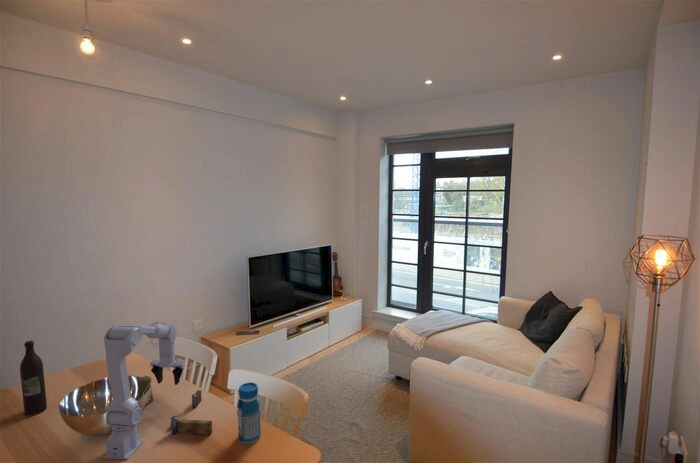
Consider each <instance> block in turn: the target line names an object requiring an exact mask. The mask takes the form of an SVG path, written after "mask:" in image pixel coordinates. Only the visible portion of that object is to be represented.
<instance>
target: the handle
mask: <svg viewBox="0 0 700 463" xmlns="http://www.w3.org/2000/svg"><path fill="white" fill-rule="evenodd" d="M212 433H213V421H212V420H201V419H200V420H199V419H198V420H197V419H178V433H177V434H183V435H184V434H186V435H187V434H188V435H212Z"/></svg>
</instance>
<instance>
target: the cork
mask: <svg viewBox="0 0 700 463" xmlns="http://www.w3.org/2000/svg"><path fill="white" fill-rule="evenodd" d="M149 383H150V384H152V377H151V376H148V375H144V376H141V377H140V378H138V379H137V386H138V394H137V396H138V397H140V396H141V395H142V394H143V392H144V391H145V390H146V388H147V386H148V385H149ZM138 397H137V398H138ZM152 403H154V395H153V390H152V389H151V396H150V400H149V402H148V405H150V404H152Z"/></svg>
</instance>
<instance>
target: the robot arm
mask: <svg viewBox="0 0 700 463" xmlns="http://www.w3.org/2000/svg"><path fill="white" fill-rule="evenodd" d="M177 331H178V329H177V327H176V326H175V325H174V324H167V323H166V322H162V323H160V321H154V322H152V323H150V324H149V325H143V324H142V325H141V324H140V325H139V324H120V325H118V326H117V325H112V326H110V327H109V328H108V329H107V331H106V333H105V334H104V337H103V342H104V349H105V361H106V368H107V373H108V379H109V385H110V391H111V398H112V401H111V402H110V403H109V405H108V406H107V407H106V415H105V422H106V424H107V425H110V429H112V431H111V434H110V435H109V437H108V438H107V439H106V453H107V454H106V456H105V457H104V459H107V460H109V459H110V460H111V459H112V460H128V459H129V458H130V457H131V456H132V455H133V454H134V452H135V451H136V450H137V449H138V448H139V447H140V446H141V444H142V443H143V442H144V439H143V438H142V439H141V438H139V436H138V423H139V422H141V418H142V416H143V410H142V407H140V405H139V403H138V400H136V398H134V397H132V394H131V385H130V380H129V373H128V367H127V362H126V357H127V356H129V355H131V354H132V352H134V350H135V349H136V347H137V346H138V344H139V342H140V341H141V340H142V339H143V336H145V335H146V337H147V338H149V339H156V340H157V339H158V350H159V359H158V360H157V359H156V360H155V359H154V360H151V361H150V363H149V364H150V365H149V366H150V367H151V369H150V372H152V374H153V375H154V377H155V379H156V382H157V384H162V382H163V380H164V379H163V377H164V375H163V372H164V368H174V369H173V370H171V372H172V375H173V378H174V379H173V380H174V381H173V382H174V385H175V386H177V385H178V384H179V383H180V379H181V375H182V373H183V371H184V369H185V367H186V362H185V361H181V360H180V361H179V360H176V353H175V352H176V351H175V342H176V336H177V333H178V332H177Z"/></svg>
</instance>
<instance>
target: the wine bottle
mask: <svg viewBox="0 0 700 463" xmlns="http://www.w3.org/2000/svg"><path fill="white" fill-rule="evenodd" d="M34 345H35V341H33V340H27V341H25V342H24V348H25V354H24V357H23V359H22V360H21V362H20V366H19V374H20V384H21V391H22V401H23V403H22V405H23V411H24V412H23V413H24V415H25V416H27V415H32V416H35V415H34V414H36V415H38V414H37V413H39V414H41V413H43V412H45V411H46V410H47V407H48V403H47V394H46V383H45V382H46V381H45V372H44V363H43V360H42V359H41V357H40V356H39V355H38V354H37V353H36V352H35V349H34V348H35V347H34ZM45 409H46V410H45ZM44 410H45V411H44ZM42 411H43V412H42ZM40 412H41V413H40Z"/></svg>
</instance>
